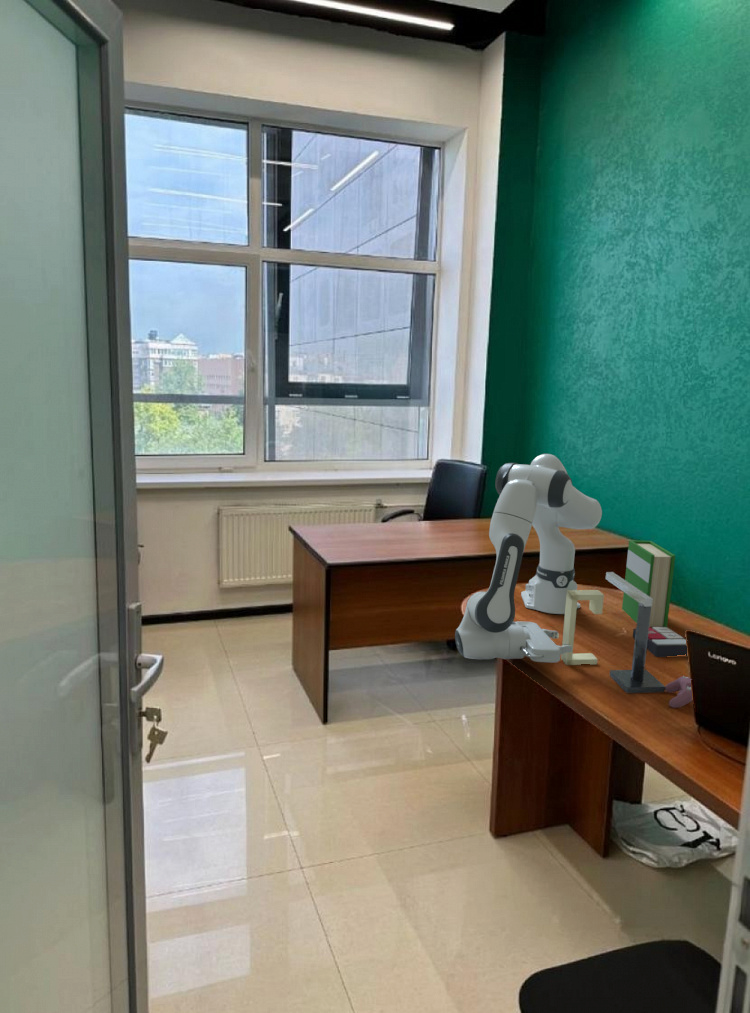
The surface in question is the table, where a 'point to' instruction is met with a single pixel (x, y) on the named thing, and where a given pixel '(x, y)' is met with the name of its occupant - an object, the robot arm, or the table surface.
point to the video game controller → (680, 692)
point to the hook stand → (636, 644)
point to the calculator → (664, 642)
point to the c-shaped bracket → (570, 620)
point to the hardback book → (649, 579)
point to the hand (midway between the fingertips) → (564, 641)
